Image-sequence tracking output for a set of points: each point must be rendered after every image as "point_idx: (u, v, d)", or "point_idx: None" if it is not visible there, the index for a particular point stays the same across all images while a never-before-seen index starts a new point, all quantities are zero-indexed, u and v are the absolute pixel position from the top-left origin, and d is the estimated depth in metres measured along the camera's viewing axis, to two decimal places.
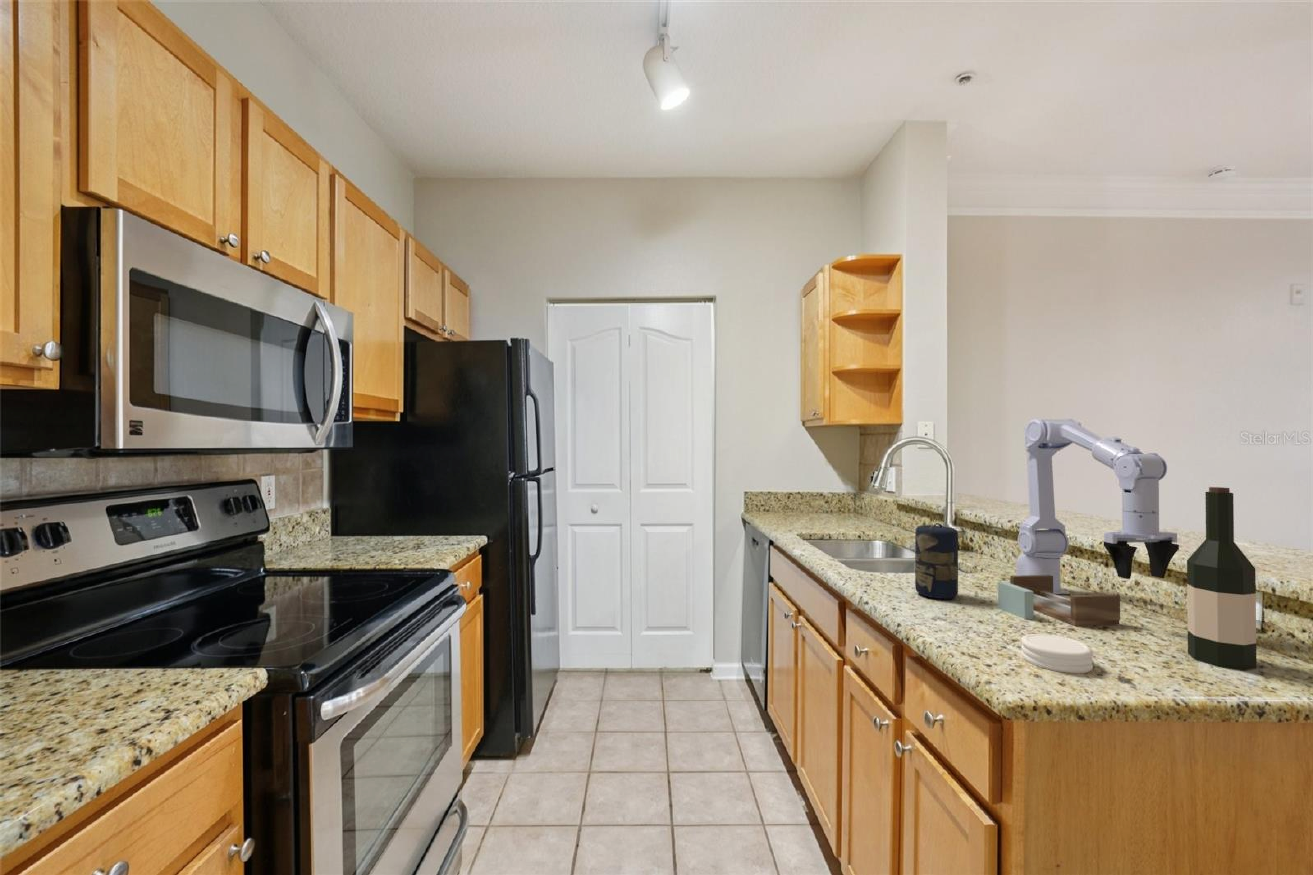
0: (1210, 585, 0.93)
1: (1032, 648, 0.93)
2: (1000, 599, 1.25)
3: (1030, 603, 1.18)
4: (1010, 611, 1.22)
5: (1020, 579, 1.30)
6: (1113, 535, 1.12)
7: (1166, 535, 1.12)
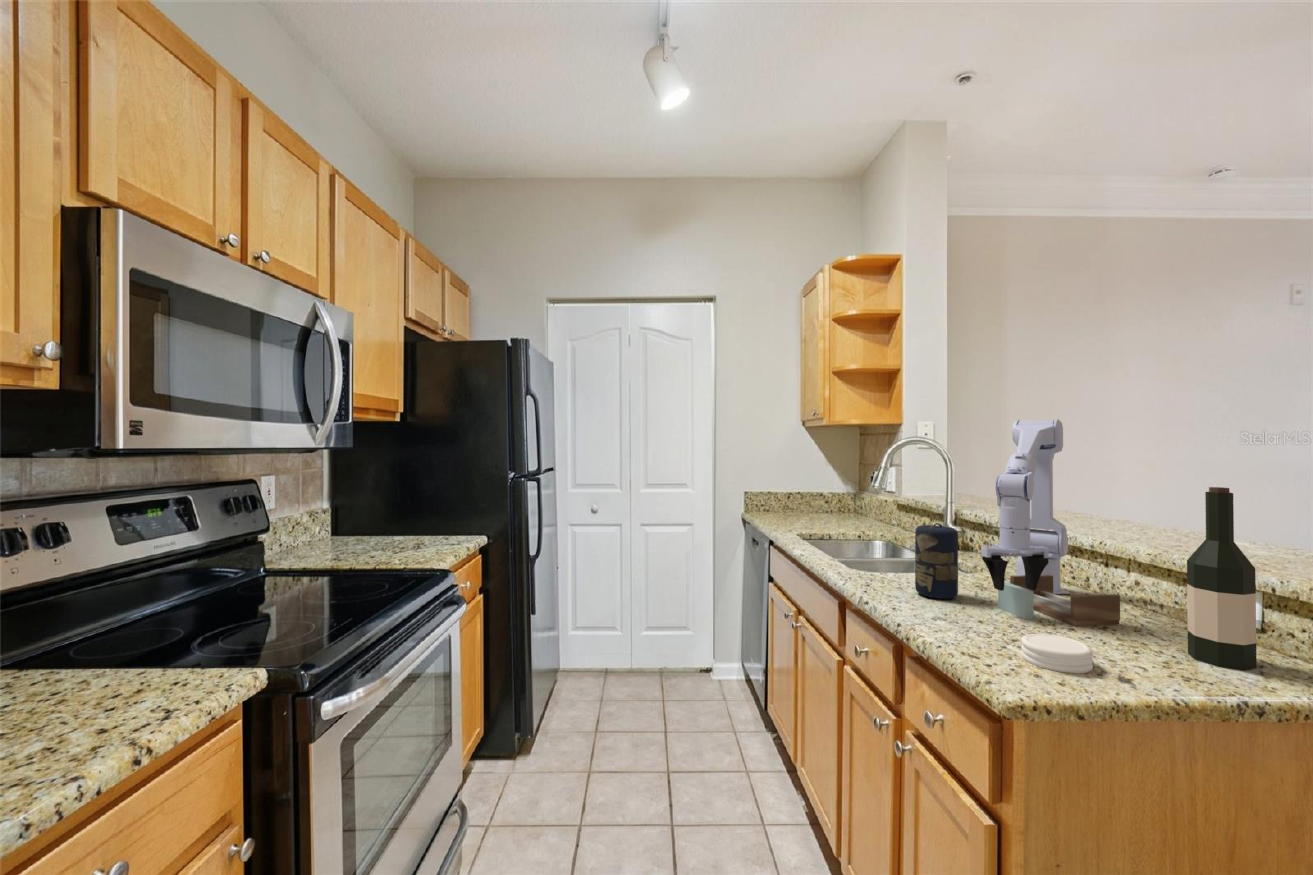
0: (1210, 585, 0.93)
1: (1032, 648, 0.93)
2: (1000, 599, 1.25)
3: (1030, 603, 1.18)
4: (1010, 611, 1.22)
5: (1020, 579, 1.30)
6: (987, 550, 1.20)
7: (1037, 550, 1.20)
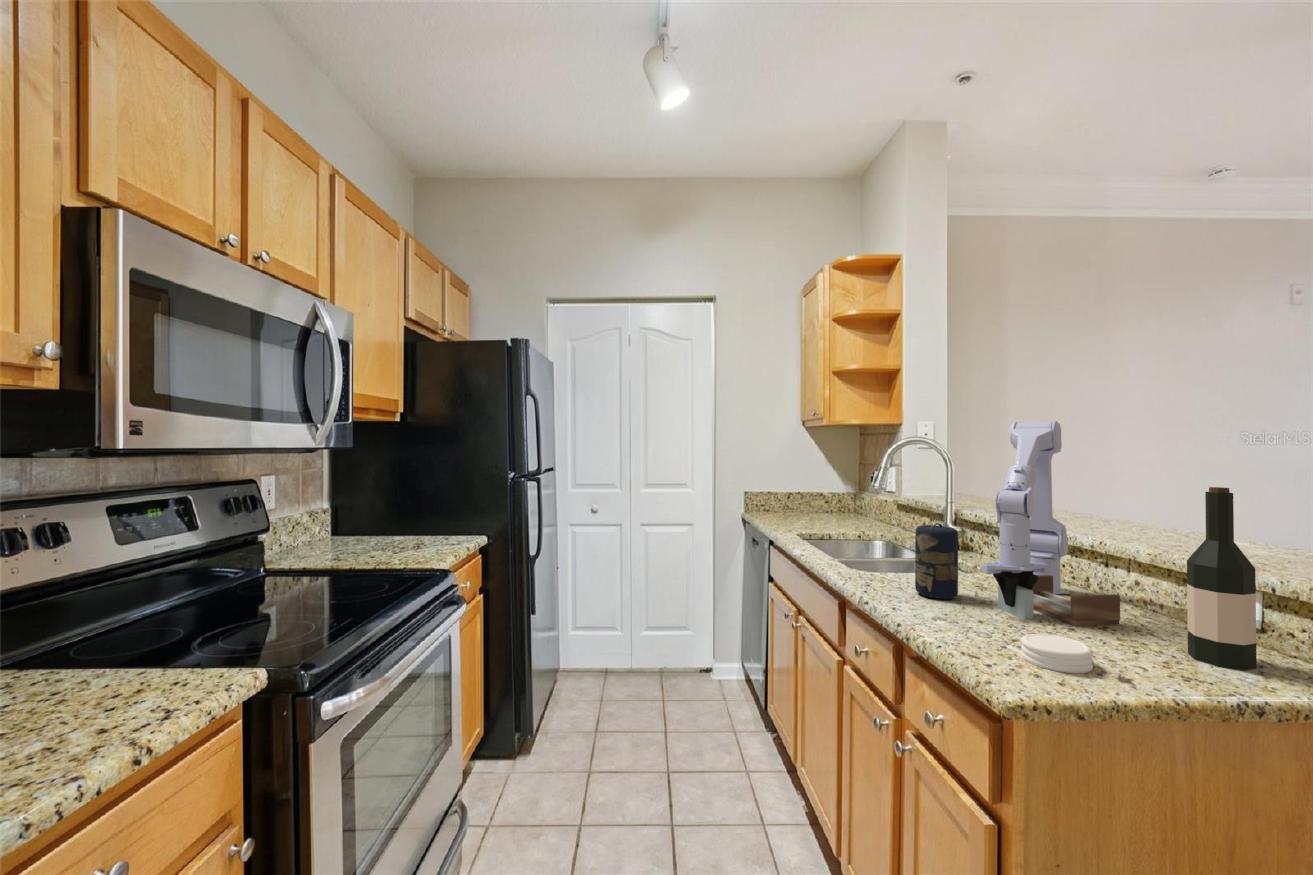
0: (1210, 585, 0.93)
1: (1032, 648, 0.93)
2: (1000, 599, 1.25)
3: (1030, 603, 1.18)
4: (1010, 611, 1.22)
5: None
6: (987, 566, 1.20)
7: (1037, 566, 1.20)
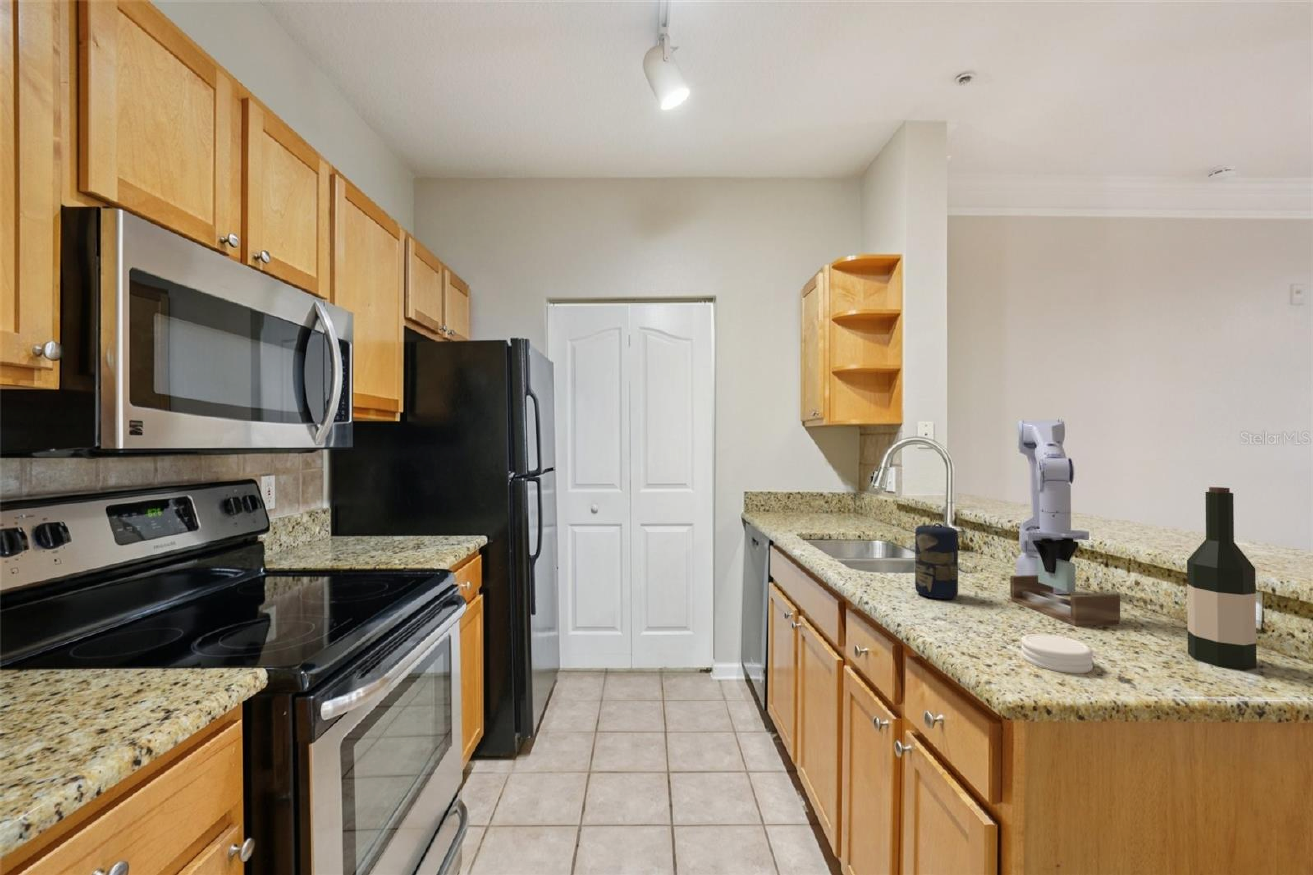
0: (1210, 585, 0.93)
1: (1032, 648, 0.93)
2: (1040, 573, 1.26)
3: (1072, 575, 1.18)
4: (1051, 584, 1.23)
5: (1020, 579, 1.30)
6: (1028, 533, 1.21)
7: (1078, 533, 1.21)
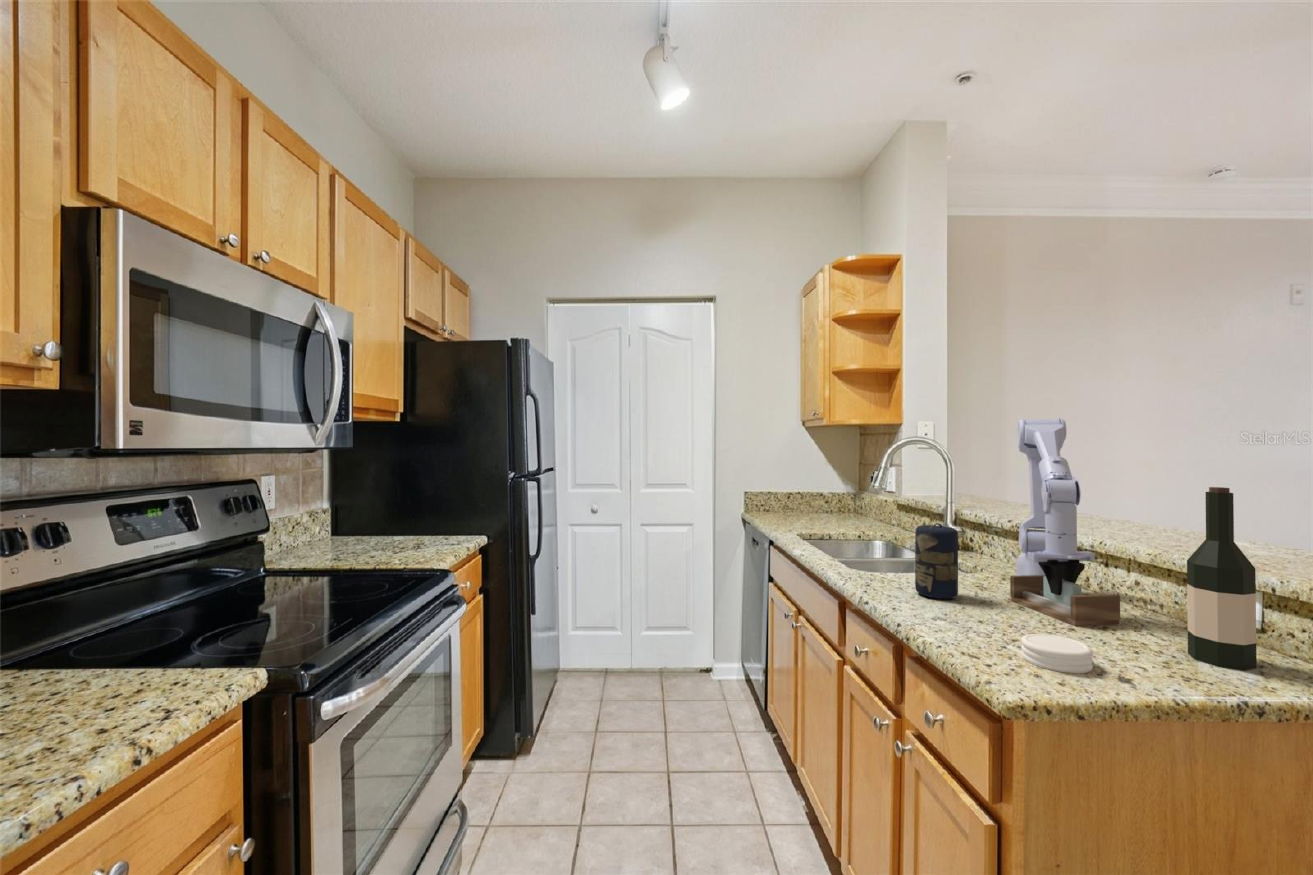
0: (1210, 585, 0.93)
1: (1032, 648, 0.93)
2: (1045, 593, 1.26)
3: None
4: None
5: (1020, 579, 1.30)
6: (1034, 555, 1.21)
7: (1084, 555, 1.21)
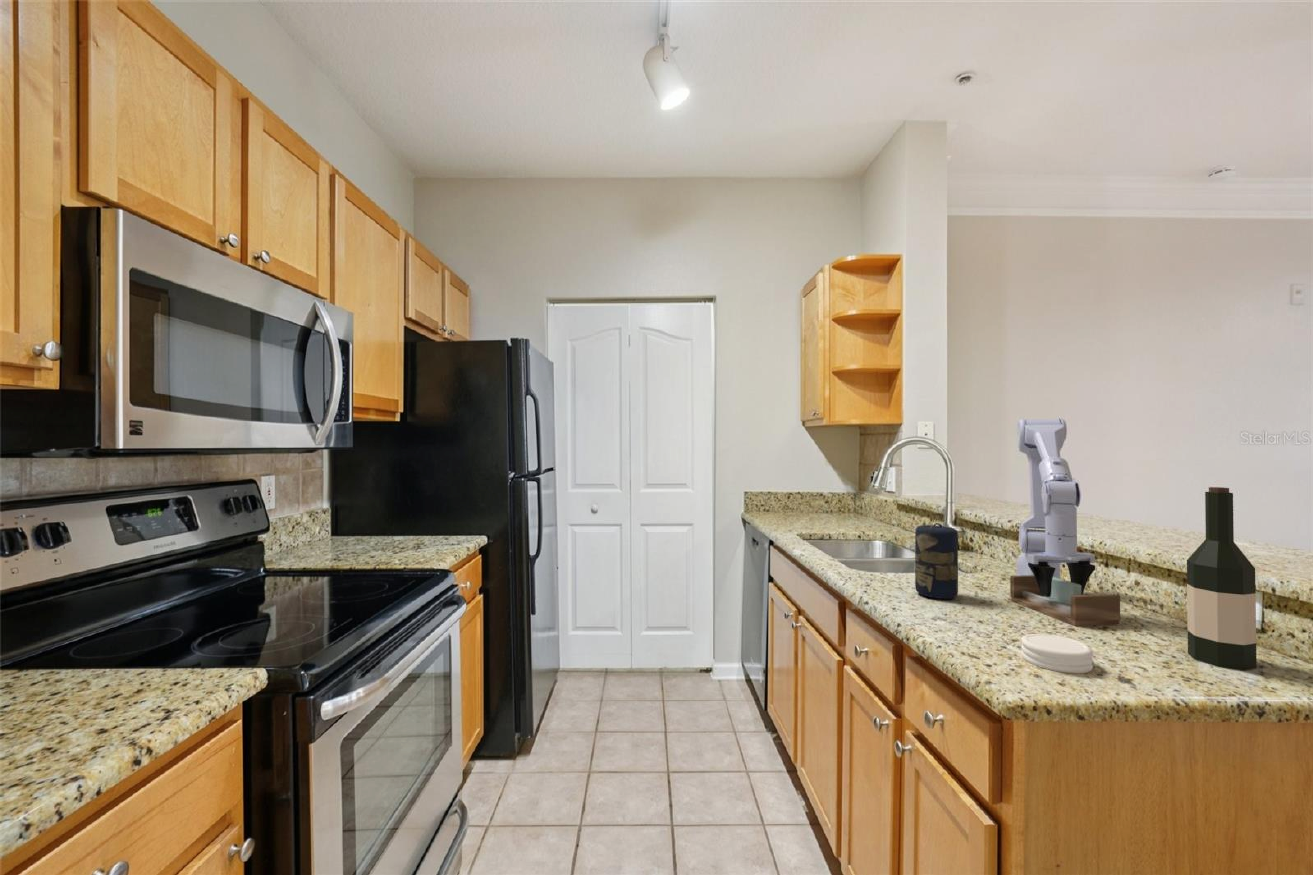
0: (1210, 585, 0.93)
1: (1032, 648, 0.93)
2: None
3: None
4: None
5: (1020, 579, 1.30)
6: (1034, 556, 1.21)
7: (1083, 556, 1.21)
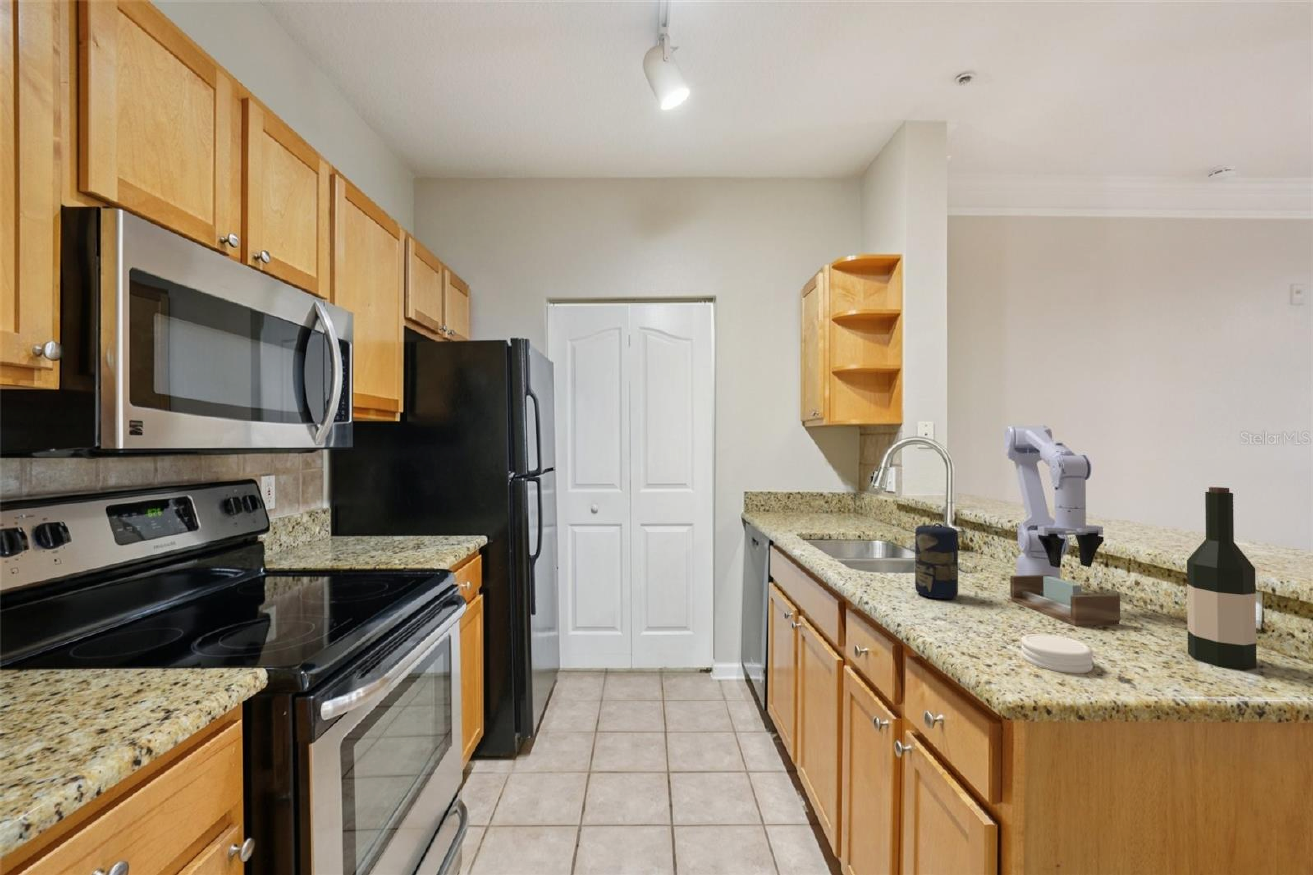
0: (1210, 585, 0.93)
1: (1032, 648, 0.93)
2: (1045, 593, 1.26)
3: None
4: None
5: (1020, 579, 1.30)
6: (1044, 528, 1.25)
7: (1092, 528, 1.25)
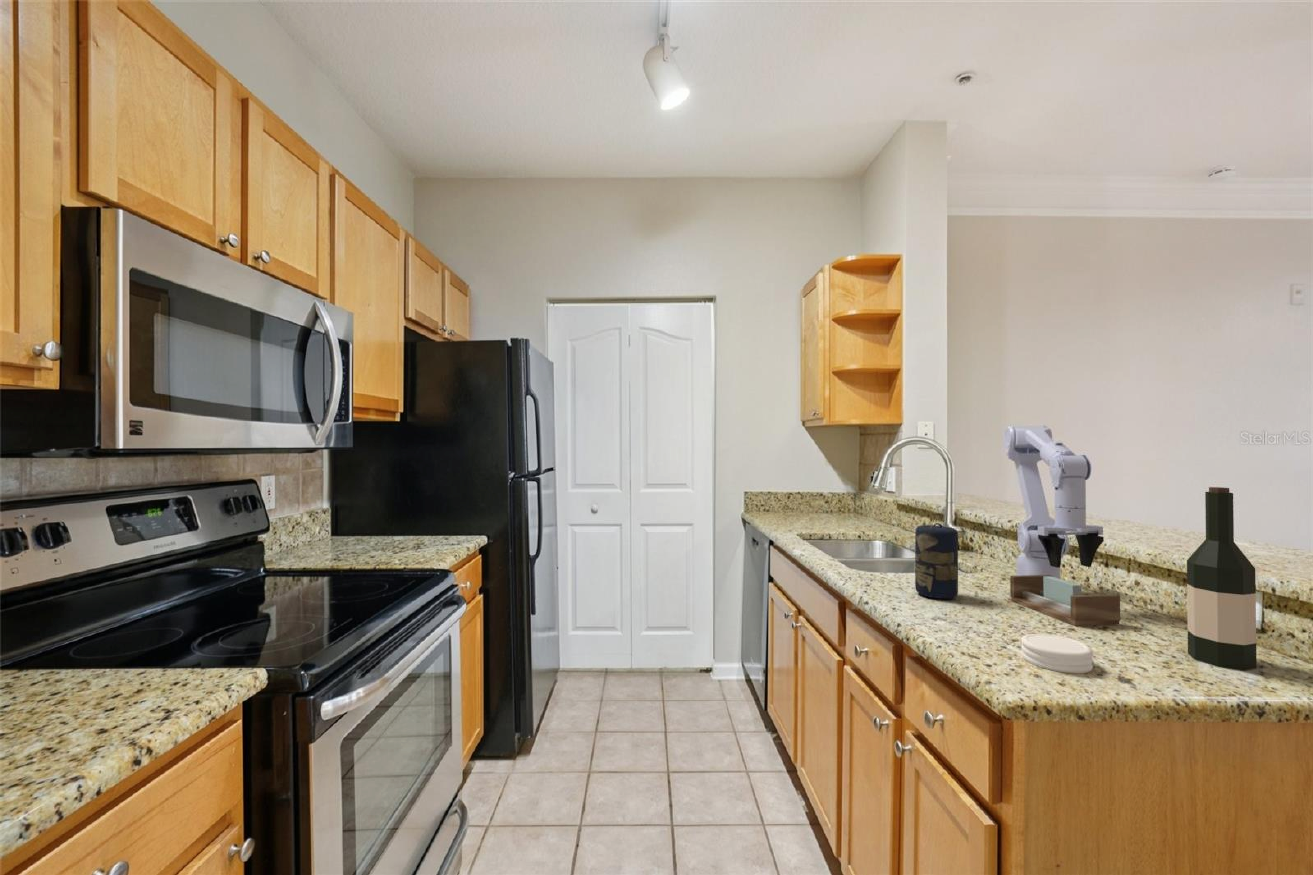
0: (1210, 585, 0.93)
1: (1032, 648, 0.93)
2: (1045, 593, 1.26)
3: None
4: None
5: (1020, 579, 1.30)
6: (1044, 528, 1.25)
7: (1092, 528, 1.25)
